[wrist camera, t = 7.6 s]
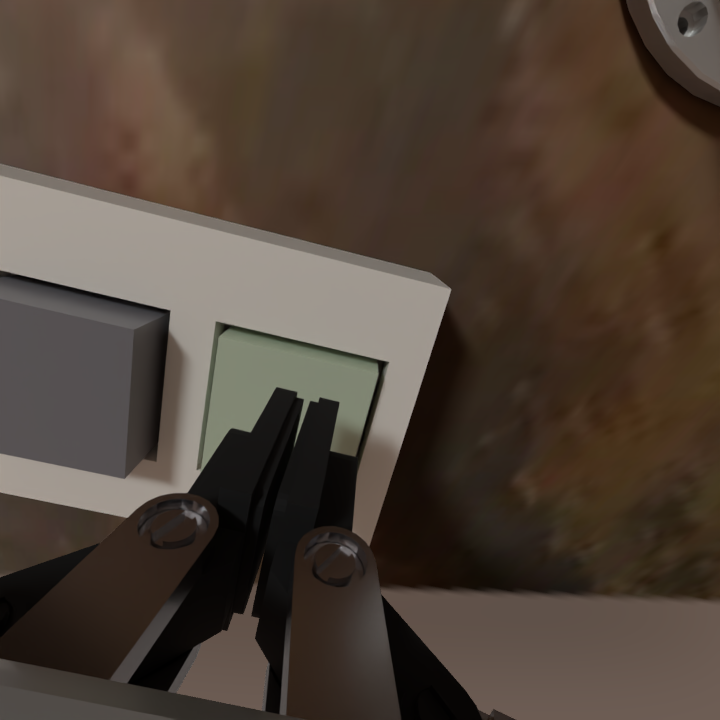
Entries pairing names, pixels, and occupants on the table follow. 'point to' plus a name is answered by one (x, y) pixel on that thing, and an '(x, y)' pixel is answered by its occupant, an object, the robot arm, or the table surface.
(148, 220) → the keypad
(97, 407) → the charcoal key
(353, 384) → the sage key
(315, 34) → the table surface
